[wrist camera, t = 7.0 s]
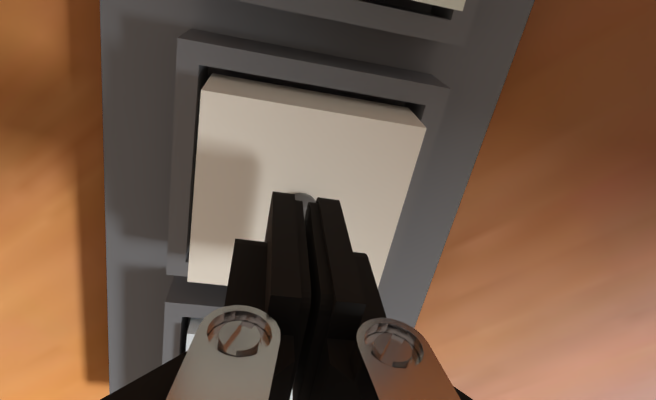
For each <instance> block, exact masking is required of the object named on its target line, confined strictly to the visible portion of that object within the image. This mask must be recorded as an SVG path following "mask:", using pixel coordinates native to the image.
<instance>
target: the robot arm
mask: <svg viewBox="0 0 656 400" xmlns="http://www.w3.org/2000/svg"><path fill="white" fill-rule="evenodd" d="M291 391H292V395H293V400H473V399H471V398H470V397H468V396H467V395H465V394H464V393H462V392H461V391H460V390H458V389H457V388H455V387H454V386H453V385H452V384H451V382H450V380H449V378H448V377H447V375H446V373H445V371H444V370H443V368H442V366H441V364H440V363H439V361H438V359H437V358H436V356H435V354H434V352H433V351H432V349H431V347H430V345H429V344H428V342H427V341H426V340H425V338H424V337H423V336H422V335H421V334H420V333H419V332H418V331H417V330H415V329H414V328H413V327H411V326H409V325H407V324H405V323H403V322H401V321H398V320H394V319H390V318H387V317H386V314H385V311H384V307H383V304H382V301H381V298H380V294H379V291H378V288H377V284H376V281H375V278H374V275H373V271H372V268H371V265H370V262H369V258H368V256H367V254H365V253H359V252H353V250H352V246H351V243H350V239H349V235H348V231H347V227H346V223H345V219H344V215H343V211H342V208H341V204H340V201H339V200H335V199H327V198H320V197H318V198H317V199H316V203H314V202H308V205H307V209H306V214H305V219H304V211H303V202H302V201H299V200H295V194H290V193H282V192H275V191H273V192H272V197H271V203H270V210H269V216H268V222H267V229H266V235H265V241H264V242H262V241H253V240H244V239H236V238H235V243H234V249H233V255H232V261H231V268H230V274H229V280H228V286H227V292H226V299H225V305H224V307H222V308H219V309H217V310H214V311H212V312H211V313H210V314H208V315H207V316H205V318H204V319H203V320H202V322H201V323H200V325H199V327H198V329H197V331H196V333H195V336H194V338H193V340H192V342H191V345H190V347H189V349H188V351H186V352H184V353H182V354H181V355H179V356H177V357H175V358H173V359H172V360H170V361H168V362H166V363H165V364H163V365H161V366H159V367H157V368H156V369H154V370H152V371H150V372H149V373H147V374H145V375H143V376H142V377H140V378H138V379H136V380H134V381H133V382H131V383H129V384H127V385H126V386H124V387H122V388H120V389H118V390H117V391H115V392H113V393H111V394H110V395H108V396H106V397H104V398H102V399H101V400H290V396H291Z"/></svg>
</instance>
